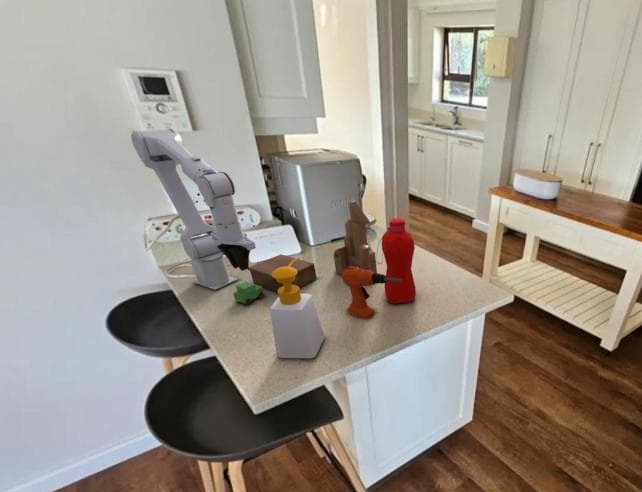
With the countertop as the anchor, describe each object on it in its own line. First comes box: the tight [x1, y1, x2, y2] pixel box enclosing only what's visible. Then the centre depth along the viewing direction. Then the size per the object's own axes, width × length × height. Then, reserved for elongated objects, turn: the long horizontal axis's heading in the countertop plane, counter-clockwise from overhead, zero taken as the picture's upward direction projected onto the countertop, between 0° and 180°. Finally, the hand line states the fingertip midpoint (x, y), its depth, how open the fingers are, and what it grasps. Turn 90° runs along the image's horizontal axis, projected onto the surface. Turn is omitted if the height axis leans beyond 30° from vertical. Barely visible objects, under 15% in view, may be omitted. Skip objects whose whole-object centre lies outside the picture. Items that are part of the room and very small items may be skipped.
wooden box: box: [249, 265, 317, 293], centre depth 119 cm, size 13×15×5 cm
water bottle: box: [376, 217, 417, 304], centre depth 108 cm, size 9×11×25 cm
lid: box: [247, 254, 315, 278], centre depth 117 cm, size 13×15×1 cm
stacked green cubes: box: [233, 281, 265, 306], centre depth 108 cm, size 7×4×5 cm, turn 155°
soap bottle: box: [269, 256, 326, 359], centre depth 88 cm, size 10×14×22 cm
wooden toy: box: [333, 200, 378, 276], centre depth 119 cm, size 16×7×25 cm, turn 57°
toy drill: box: [341, 266, 402, 319], centre depth 101 cm, size 5×19×15 cm, turn 71°
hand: (241, 268), depth 104 cm, fingers closed
